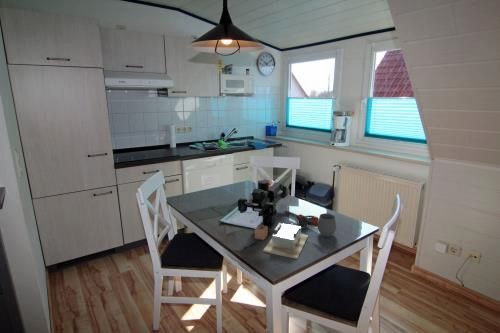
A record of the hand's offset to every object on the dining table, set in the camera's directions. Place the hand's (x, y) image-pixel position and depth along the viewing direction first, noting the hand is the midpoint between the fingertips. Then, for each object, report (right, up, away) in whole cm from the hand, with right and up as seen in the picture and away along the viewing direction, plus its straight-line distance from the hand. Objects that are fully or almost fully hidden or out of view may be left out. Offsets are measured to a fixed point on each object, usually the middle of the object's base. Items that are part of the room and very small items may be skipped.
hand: (249, 213), depth 137 cm
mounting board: (+18, -16, +6) cm, 24 cm away
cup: (+39, -13, +15) cm, 44 cm away
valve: (+31, -9, +32) cm, 45 cm away
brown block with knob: (+6, -14, +13) cm, 20 cm away
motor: (+19, -14, +7) cm, 24 cm away
